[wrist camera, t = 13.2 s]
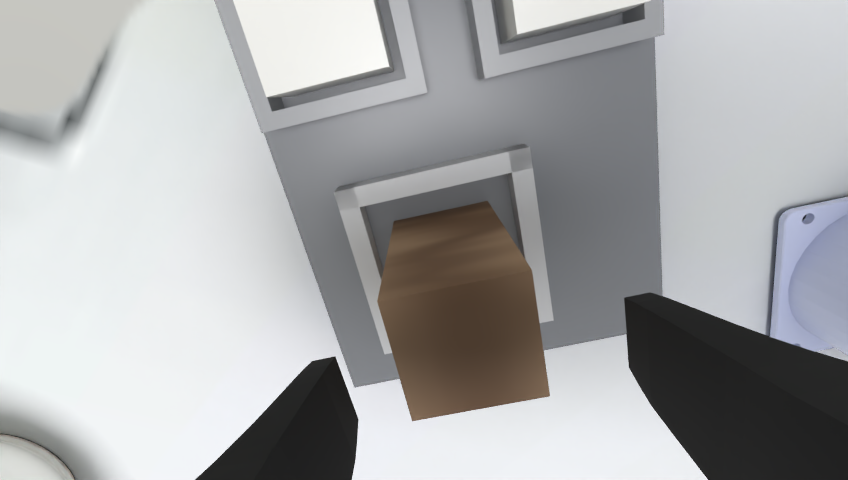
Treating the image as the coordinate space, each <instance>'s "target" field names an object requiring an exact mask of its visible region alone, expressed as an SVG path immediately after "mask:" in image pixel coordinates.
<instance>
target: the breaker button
mask: <svg viewBox="0 0 848 480" xmlns="http://www.w3.org/2000/svg"><path fill="white" fill-rule="evenodd" d="M649 1H651V0H495V4H496V11H497V17H498V24H499V31H500V38H501V44H504V43H508V42H512V41H516V40H520V39H524V38H528V37H532V36H536V35H540V34H544V33H548V32H552V31H556V30H560V29H564V28H568V27H572V26H576V25H580V24H584V23H588V22H592V21H596V20H600V19H604V18H608V17H612V16H615V15H617V14H620V13H622V12H625V11H627V10H630V9H632V8H634V7H637V6H639V5H642V4H644V3H647V2H649Z"/></svg>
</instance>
